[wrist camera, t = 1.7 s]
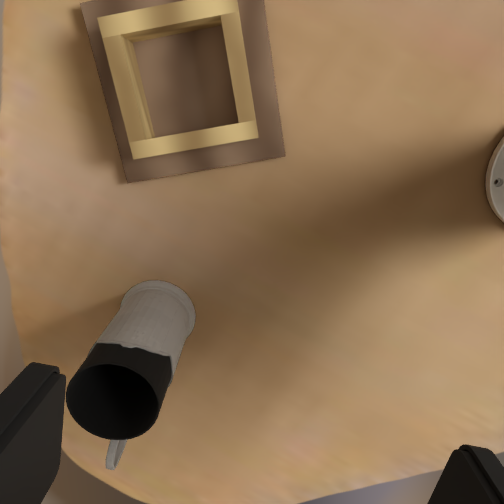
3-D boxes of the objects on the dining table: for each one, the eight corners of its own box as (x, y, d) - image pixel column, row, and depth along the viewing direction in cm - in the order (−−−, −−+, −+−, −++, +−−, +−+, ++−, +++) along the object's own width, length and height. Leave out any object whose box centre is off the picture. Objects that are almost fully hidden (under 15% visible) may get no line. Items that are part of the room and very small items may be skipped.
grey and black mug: (201, 288, 45) (174, 367, 30) (182, 391, 49) (151, 502, 35) (124, 273, 44) (60, 346, 30) (112, 378, 49) (51, 485, 34)
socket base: (259, -29, 35) (259, -50, 30) (284, 155, 40) (287, 159, 35) (85, 6, 36) (61, -10, 31) (131, 181, 41) (115, 188, 36)
